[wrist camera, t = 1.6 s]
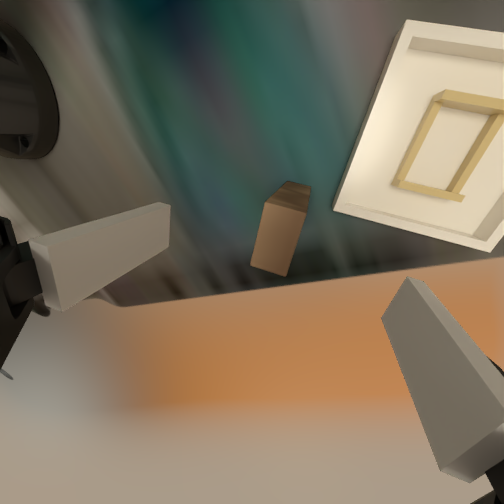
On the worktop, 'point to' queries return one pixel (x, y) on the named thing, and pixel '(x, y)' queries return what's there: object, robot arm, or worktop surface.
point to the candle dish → (434, 138)
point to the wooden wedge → (280, 228)
